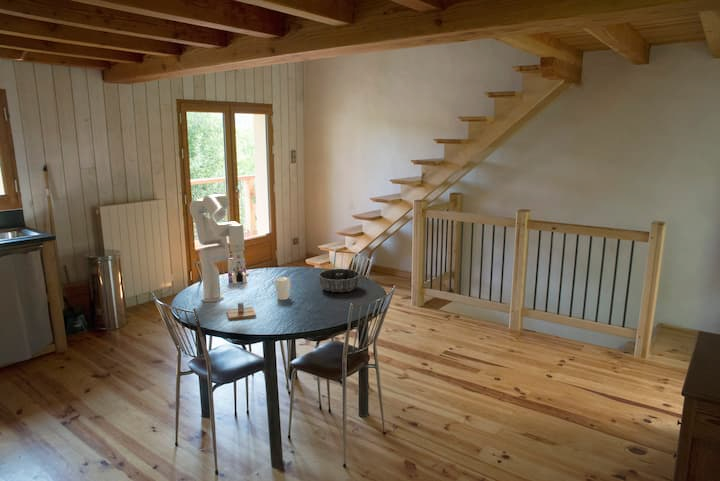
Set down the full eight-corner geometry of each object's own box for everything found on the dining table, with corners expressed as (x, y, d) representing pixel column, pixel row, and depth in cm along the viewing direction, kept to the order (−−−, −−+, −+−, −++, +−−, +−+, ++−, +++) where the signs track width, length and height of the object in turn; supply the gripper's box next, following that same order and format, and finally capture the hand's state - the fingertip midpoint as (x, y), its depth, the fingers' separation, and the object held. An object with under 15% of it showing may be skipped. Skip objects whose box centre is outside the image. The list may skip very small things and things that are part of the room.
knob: (233, 283, 262) (232, 276, 261) (232, 280, 268) (231, 273, 267) (249, 281, 265) (249, 274, 264) (248, 278, 271) (247, 271, 270)
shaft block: (226, 312, 274) (226, 301, 273) (252, 309, 279) (251, 298, 277) (229, 320, 261) (228, 308, 260) (256, 317, 266) (255, 305, 264)
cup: (276, 301, 293) (275, 281, 291) (275, 296, 302) (274, 277, 299) (291, 299, 295) (290, 280, 292) (290, 295, 303) (289, 276, 301)
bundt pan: (360, 295, 302) (359, 279, 300) (316, 295, 303) (316, 279, 301) (360, 283, 328) (360, 268, 326) (320, 283, 329) (320, 268, 327)
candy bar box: (247, 281, 334) (245, 258, 331) (243, 283, 330) (241, 259, 326) (232, 280, 337) (230, 257, 334) (228, 282, 333) (226, 258, 330)
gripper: (246, 250, 256) (248, 283, 259) (242, 243, 272) (244, 275, 275) (231, 251, 253) (233, 285, 257) (228, 244, 269) (230, 276, 273)
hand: (239, 279), depth 266 cm, fingers closed on knob, 6 cm apart
